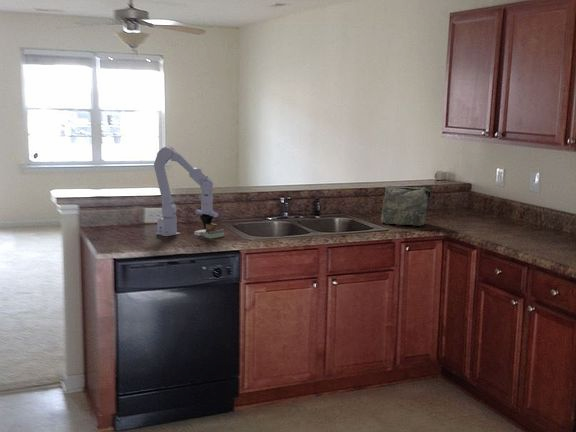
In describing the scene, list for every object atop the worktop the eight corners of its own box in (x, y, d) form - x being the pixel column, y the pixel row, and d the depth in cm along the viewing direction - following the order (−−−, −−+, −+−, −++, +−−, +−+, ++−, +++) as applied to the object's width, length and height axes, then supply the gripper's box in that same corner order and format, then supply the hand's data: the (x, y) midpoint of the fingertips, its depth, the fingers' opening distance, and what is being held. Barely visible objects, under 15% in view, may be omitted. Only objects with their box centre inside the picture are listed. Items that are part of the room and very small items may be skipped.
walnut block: (211, 233, 332) (211, 225, 332) (205, 232, 335) (205, 224, 334) (217, 232, 335) (217, 224, 335) (211, 231, 338) (211, 223, 337)
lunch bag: (430, 223, 389) (432, 186, 386) (423, 228, 373) (426, 189, 369) (386, 219, 399) (388, 183, 395) (378, 224, 382) (380, 186, 379)
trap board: (210, 238, 329) (210, 231, 328) (194, 235, 337) (194, 228, 336) (223, 236, 336) (223, 229, 335) (207, 232, 343) (208, 226, 343)
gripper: (222, 203, 333) (222, 230, 335) (203, 200, 342) (203, 226, 345) (212, 205, 328) (211, 232, 330) (192, 201, 337) (192, 228, 339)
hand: (206, 229), depth 337 cm, fingers closed
